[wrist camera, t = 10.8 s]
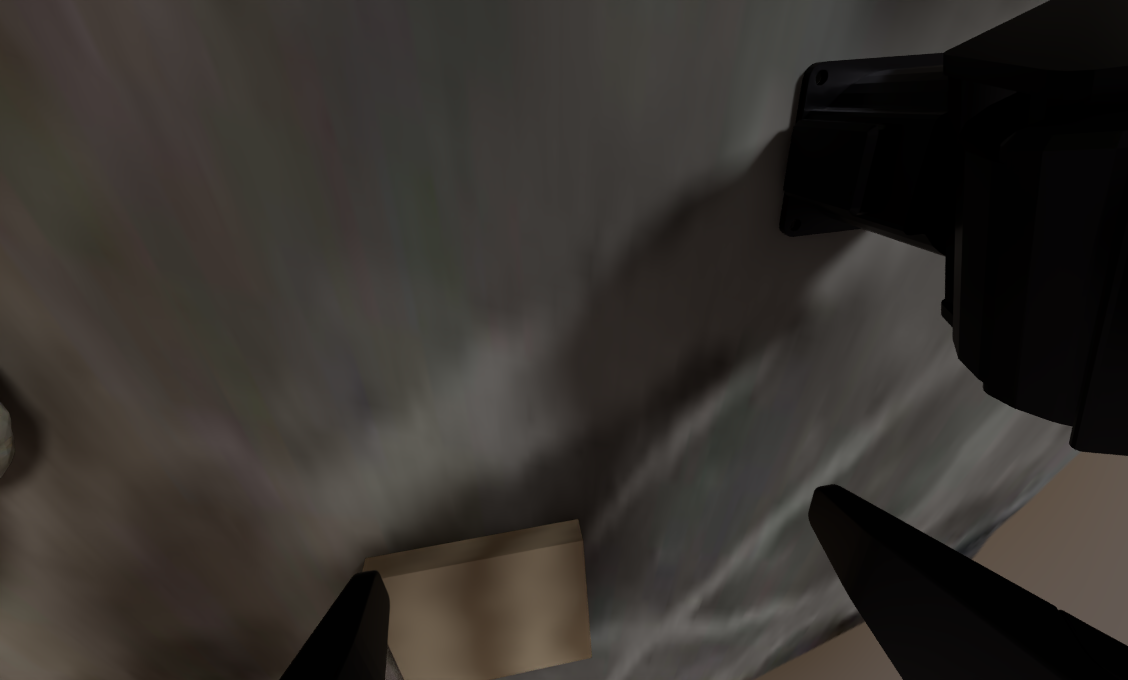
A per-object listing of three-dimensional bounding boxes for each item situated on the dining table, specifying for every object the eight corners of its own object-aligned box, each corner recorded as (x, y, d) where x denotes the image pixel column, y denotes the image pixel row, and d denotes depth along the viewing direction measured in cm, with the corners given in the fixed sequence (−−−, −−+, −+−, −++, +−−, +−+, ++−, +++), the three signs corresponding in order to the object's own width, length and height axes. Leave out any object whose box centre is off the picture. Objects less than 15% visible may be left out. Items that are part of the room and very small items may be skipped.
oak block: (576, 511, 27) (582, 540, 25) (585, 627, 32) (591, 657, 31) (367, 549, 25) (359, 582, 24) (415, 663, 31) (412, 696, 29)
